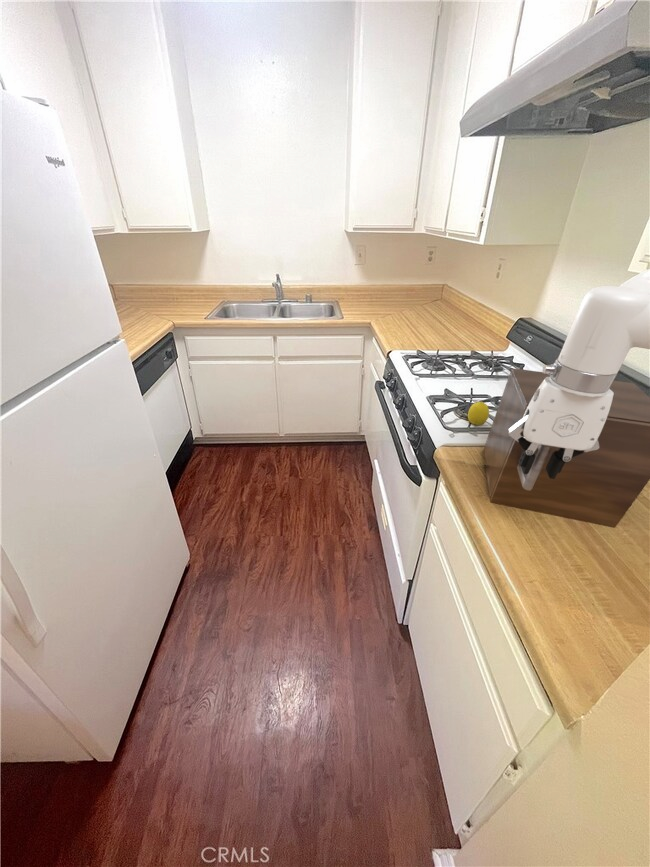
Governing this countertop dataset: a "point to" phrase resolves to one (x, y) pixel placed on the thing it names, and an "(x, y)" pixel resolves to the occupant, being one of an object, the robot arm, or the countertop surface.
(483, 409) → the lemon
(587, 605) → the countertop surface
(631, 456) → the door
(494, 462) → the cupboard
